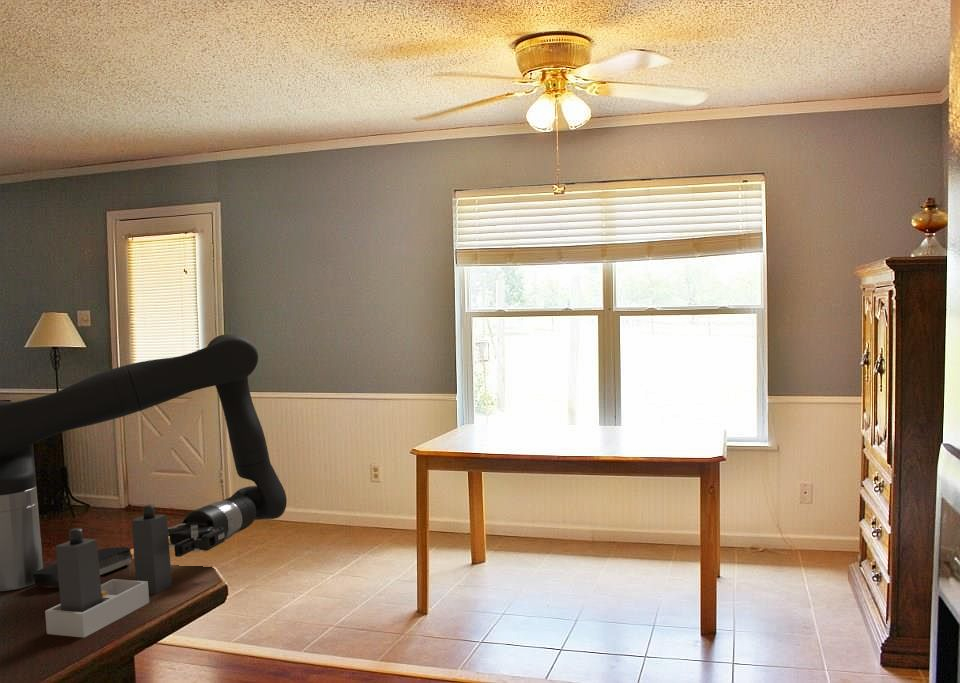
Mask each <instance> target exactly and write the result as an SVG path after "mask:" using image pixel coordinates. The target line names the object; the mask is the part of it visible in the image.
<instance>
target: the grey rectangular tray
mask: <svg viewBox="0 0 960 683" xmlns="http://www.w3.org/2000/svg"><path fill="white" fill-rule="evenodd" d="M101 595H102V603H100V604H98V605H96V606H94V607H92V608H90V609H88V610H86V611H84V612H73V611H61V603H59V604H57V605H55V606H53V607H50V608H48V609H46V610H45V611H44V613H45V614H44V615H45V627H46V635H54V636H63V637H64V636H65V637H75V638H83V639H84V638H86V637H88V636H90V635H92V634H94V633H95V632H98V631H99V630H101V629H102V628H105V627H107V626H108V625H111V624H113V623H114V622H116V621H118V620H120V619H122V618H124V617H125V616H127V615H129V614H131V613H133V612H134V611H137V610H138V609H141V608H142V607H144V606H146V605H147V604H149V603H150V594H149V591H148V581H136V579H134V580H132V579H121V578H120V579H119V578H112V579H110V580H108V581H106V582H103V583H102V584H101Z"/></svg>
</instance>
